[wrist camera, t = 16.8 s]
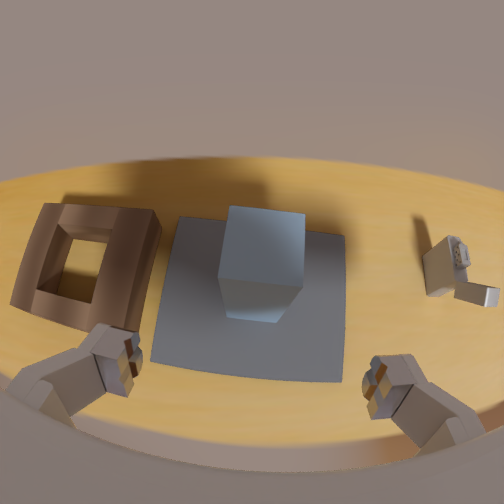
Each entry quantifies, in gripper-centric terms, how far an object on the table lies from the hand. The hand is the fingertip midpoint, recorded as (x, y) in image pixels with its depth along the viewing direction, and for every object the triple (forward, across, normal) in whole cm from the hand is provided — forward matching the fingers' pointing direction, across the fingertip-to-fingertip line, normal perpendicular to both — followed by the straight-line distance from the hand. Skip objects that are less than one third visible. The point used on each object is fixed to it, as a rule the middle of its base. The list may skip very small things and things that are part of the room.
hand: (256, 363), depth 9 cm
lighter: (+13, -16, +3) cm, 21 cm away
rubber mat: (+12, 0, +4) cm, 12 cm away
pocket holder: (+12, +14, +4) cm, 19 cm away
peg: (+11, 0, +4) cm, 12 cm away
